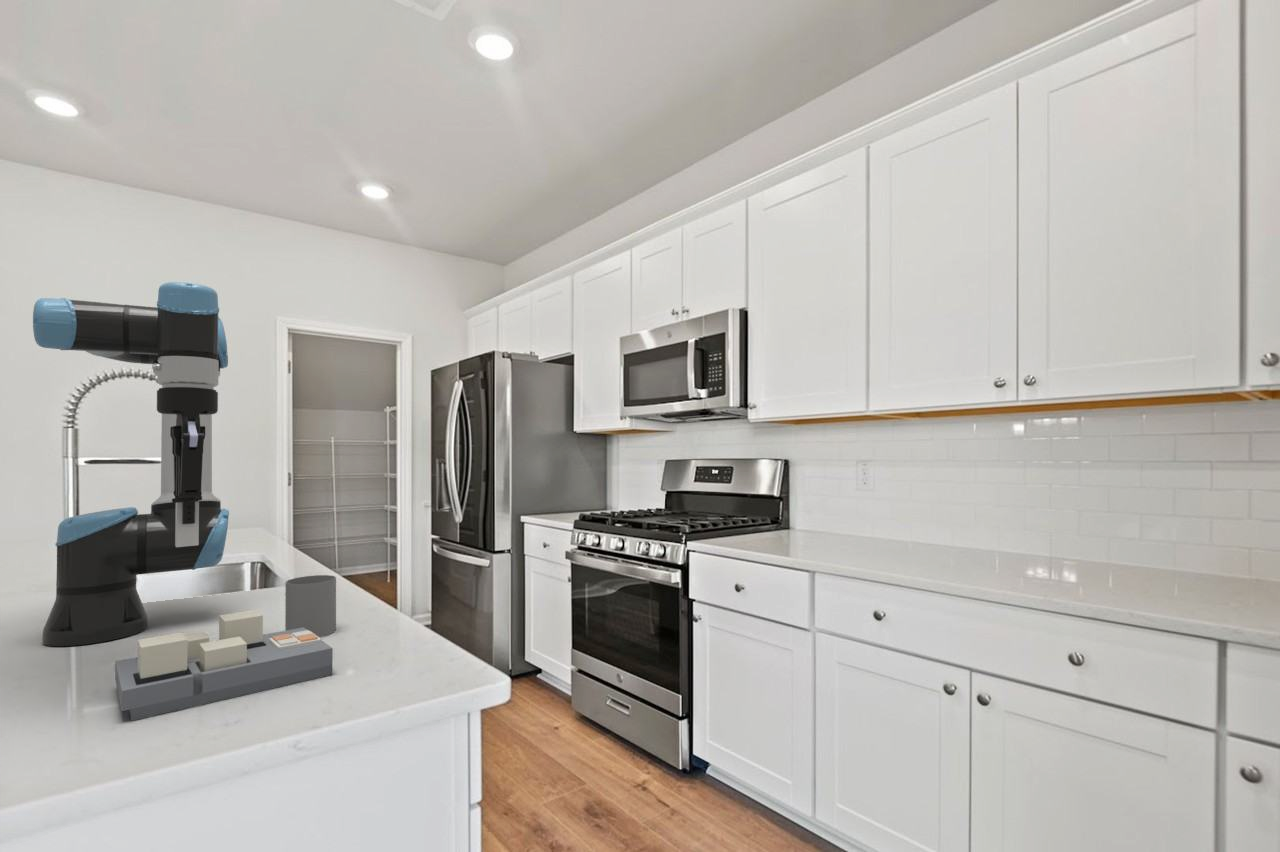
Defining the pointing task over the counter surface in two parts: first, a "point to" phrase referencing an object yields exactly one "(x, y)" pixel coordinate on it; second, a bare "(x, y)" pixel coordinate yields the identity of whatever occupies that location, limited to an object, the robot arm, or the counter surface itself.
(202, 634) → the button
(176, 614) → the counter surface
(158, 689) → the board
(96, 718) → the counter surface
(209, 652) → the button
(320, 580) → the cup
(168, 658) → the button
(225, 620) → the button
